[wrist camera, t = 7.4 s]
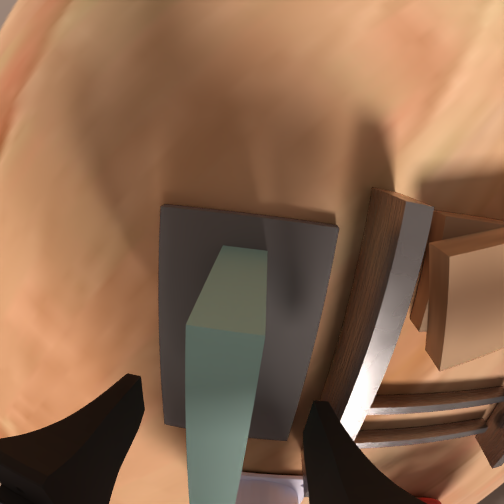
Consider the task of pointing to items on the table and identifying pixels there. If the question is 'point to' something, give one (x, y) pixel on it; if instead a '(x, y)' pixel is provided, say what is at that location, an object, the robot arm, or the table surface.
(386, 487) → the robot arm
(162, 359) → the mat
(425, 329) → the offcut lower
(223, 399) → the teal board
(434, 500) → the plant pot
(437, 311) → the offcut upper
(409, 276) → the rack
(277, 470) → the table surface
